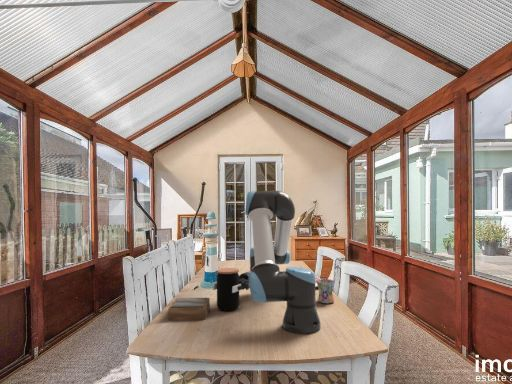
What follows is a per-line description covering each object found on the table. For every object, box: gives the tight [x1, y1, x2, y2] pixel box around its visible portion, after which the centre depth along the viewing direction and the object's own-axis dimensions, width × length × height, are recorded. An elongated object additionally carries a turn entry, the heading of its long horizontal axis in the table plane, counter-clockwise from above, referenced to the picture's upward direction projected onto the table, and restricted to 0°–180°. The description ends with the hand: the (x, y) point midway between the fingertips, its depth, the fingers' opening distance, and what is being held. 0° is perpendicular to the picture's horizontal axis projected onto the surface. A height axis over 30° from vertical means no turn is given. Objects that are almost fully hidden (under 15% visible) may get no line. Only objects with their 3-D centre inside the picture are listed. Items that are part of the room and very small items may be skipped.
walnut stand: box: [167, 297, 211, 321], centre depth 150 cm, size 16×16×5 cm
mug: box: [316, 278, 336, 304], centre depth 168 cm, size 12×9×11 cm
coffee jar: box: [216, 267, 240, 312], centre depth 158 cm, size 11×11×18 cm
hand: (222, 288), depth 154 cm, fingers closed on coffee jar, 11 cm apart
